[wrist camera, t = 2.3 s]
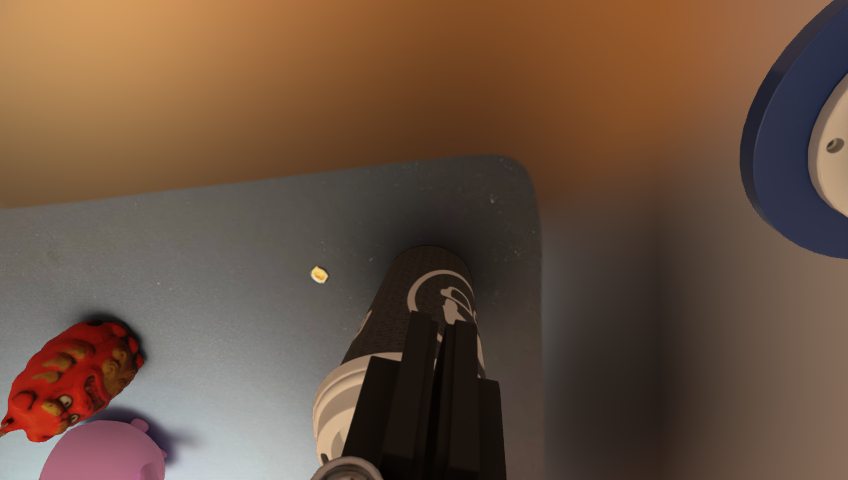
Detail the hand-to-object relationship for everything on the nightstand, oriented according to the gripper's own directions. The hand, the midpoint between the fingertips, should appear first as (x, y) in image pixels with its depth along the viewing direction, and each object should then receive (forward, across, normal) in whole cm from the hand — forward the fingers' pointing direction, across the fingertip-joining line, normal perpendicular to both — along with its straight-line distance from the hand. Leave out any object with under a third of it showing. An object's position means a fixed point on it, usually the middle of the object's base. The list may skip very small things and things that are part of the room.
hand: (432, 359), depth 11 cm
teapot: (+19, +27, +38) cm, 51 cm away
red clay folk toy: (+19, +28, +24) cm, 42 cm away
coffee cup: (+19, 0, +10) cm, 22 cm away
